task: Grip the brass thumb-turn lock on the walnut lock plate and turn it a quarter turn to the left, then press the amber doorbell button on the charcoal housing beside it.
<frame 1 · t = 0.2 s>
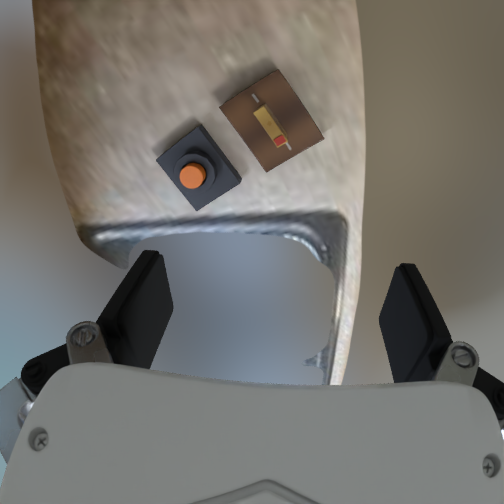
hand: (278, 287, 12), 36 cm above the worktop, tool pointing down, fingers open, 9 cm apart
doorbell: (200, 166, 47), on the worktop
bell button: (192, 175, 43), point 4 cm above the worktop, slide at 0.1 cm
lock knob: (271, 124, 36), point 6 cm above the worktop, hinge at 0.0°
lock plate: (272, 119, 41), on the worktop
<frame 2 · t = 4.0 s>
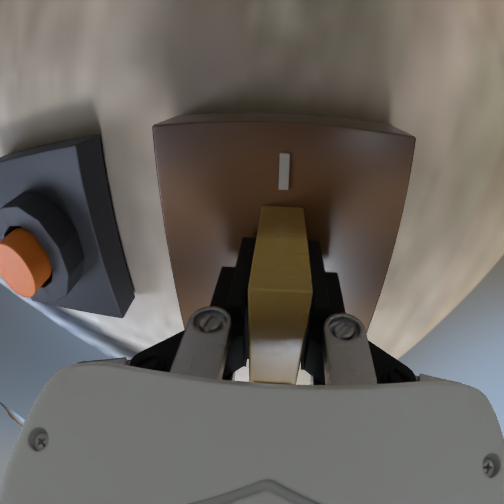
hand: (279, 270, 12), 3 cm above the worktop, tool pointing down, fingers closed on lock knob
doorbell: (62, 224, 17), on the worktop
bell button: (21, 262, 13), point 4 cm above the worktop, slide at 0.1 cm
lock knob: (277, 306, 11), point 6 cm above the worktop, hinge at 0.0°, touching gripper
lock plate: (280, 230, 15), on the worktop
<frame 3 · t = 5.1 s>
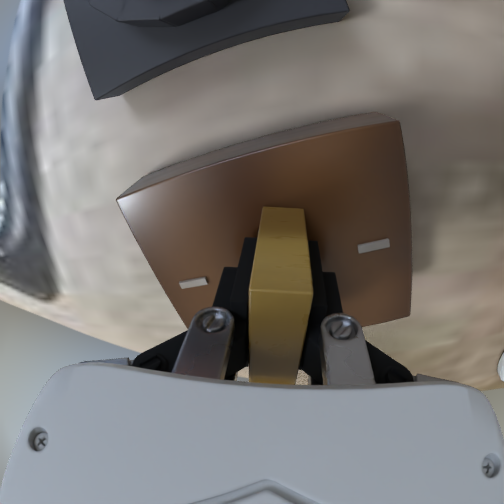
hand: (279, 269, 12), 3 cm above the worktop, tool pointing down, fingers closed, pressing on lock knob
lock knob: (277, 307, 11), point 6 cm above the worktop, hinge at 72.3°, touching gripper
lock plate: (280, 231, 15), on the worktop
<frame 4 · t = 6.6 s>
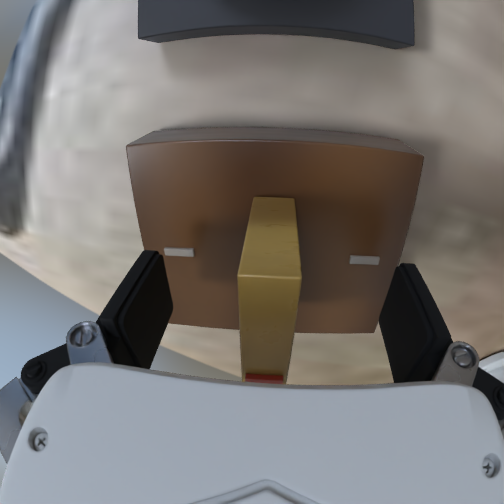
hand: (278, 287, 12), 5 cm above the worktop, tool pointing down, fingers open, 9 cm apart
lock knob: (269, 296, 11), point 6 cm above the worktop, hinge at 89.8°
lock plate: (273, 223, 15), on the worktop
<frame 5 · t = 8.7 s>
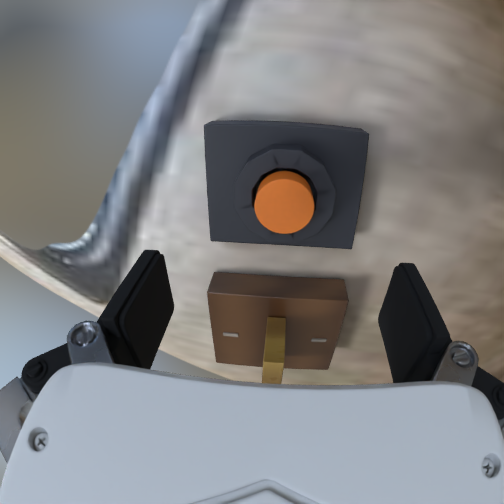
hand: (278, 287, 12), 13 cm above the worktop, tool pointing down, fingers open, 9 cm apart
doorbell: (284, 179, 22), on the worktop
bell button: (284, 202, 18), point 4 cm above the worktop, slide at 0.1 cm
lock knob: (273, 359, 25), point 6 cm above the worktop, hinge at 89.8°
lock plate: (276, 315, 30), on the worktop
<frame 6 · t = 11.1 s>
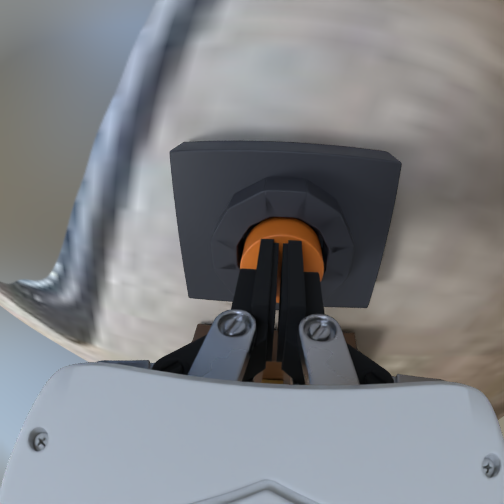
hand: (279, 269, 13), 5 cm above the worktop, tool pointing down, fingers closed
doorbell: (283, 219, 17), on the worktop
bell button: (282, 260, 13), point 4 cm above the worktop, slide at -0.2 cm, touching gripper
lock knob: (268, 425, 20), point 6 cm above the worktop, hinge at 89.8°
lock plate: (273, 367, 24), on the worktop
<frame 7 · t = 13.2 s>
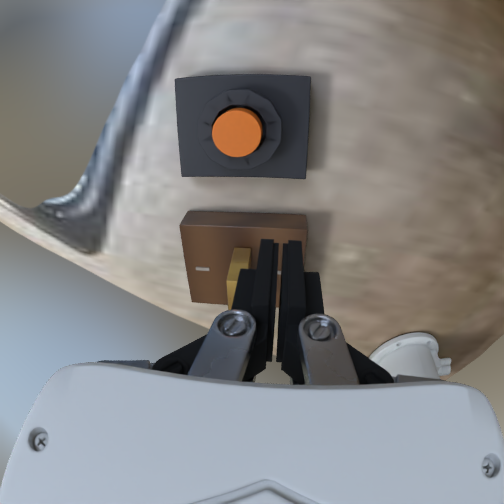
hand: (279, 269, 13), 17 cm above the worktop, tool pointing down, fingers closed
doorbell: (244, 122, 25), on the worktop
bell button: (237, 131, 21), point 4 cm above the worktop, slide at 0.1 cm
lock knob: (240, 287, 28), point 6 cm above the worktop, hinge at 89.8°
lock plate: (246, 253, 32), on the worktop
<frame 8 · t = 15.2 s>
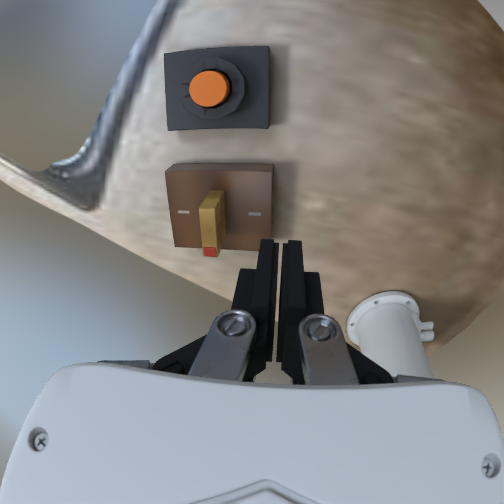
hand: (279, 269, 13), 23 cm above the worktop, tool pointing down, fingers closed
doorbell: (219, 87, 29), on the worktop
bell button: (209, 88, 25), point 4 cm above the worktop, slide at 0.1 cm
lock knob: (213, 222, 31), point 6 cm above the worktop, hinge at 89.8°
lock plate: (223, 202, 36), on the worktop
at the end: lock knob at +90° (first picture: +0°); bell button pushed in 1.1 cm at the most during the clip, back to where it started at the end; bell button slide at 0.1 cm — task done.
